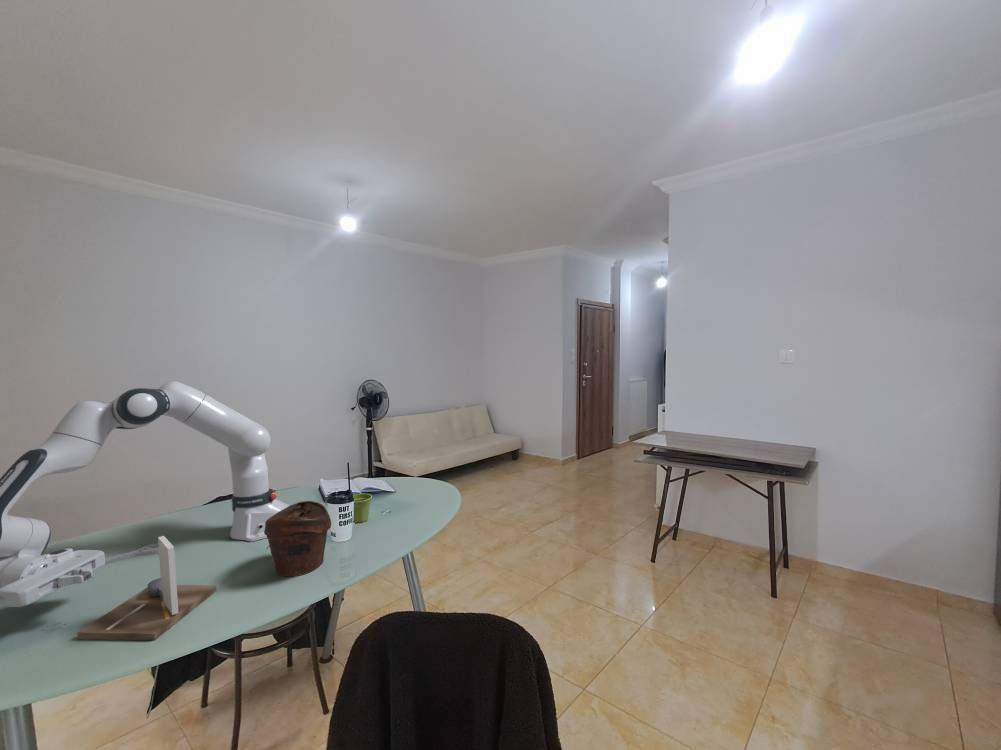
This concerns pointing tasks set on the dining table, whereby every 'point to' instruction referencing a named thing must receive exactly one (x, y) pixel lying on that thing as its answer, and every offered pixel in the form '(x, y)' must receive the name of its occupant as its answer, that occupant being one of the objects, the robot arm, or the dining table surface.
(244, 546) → the dining table surface
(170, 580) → the white upright panel
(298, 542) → the case
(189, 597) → the dial board
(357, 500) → the plant pot
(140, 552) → the adjustable wrench
